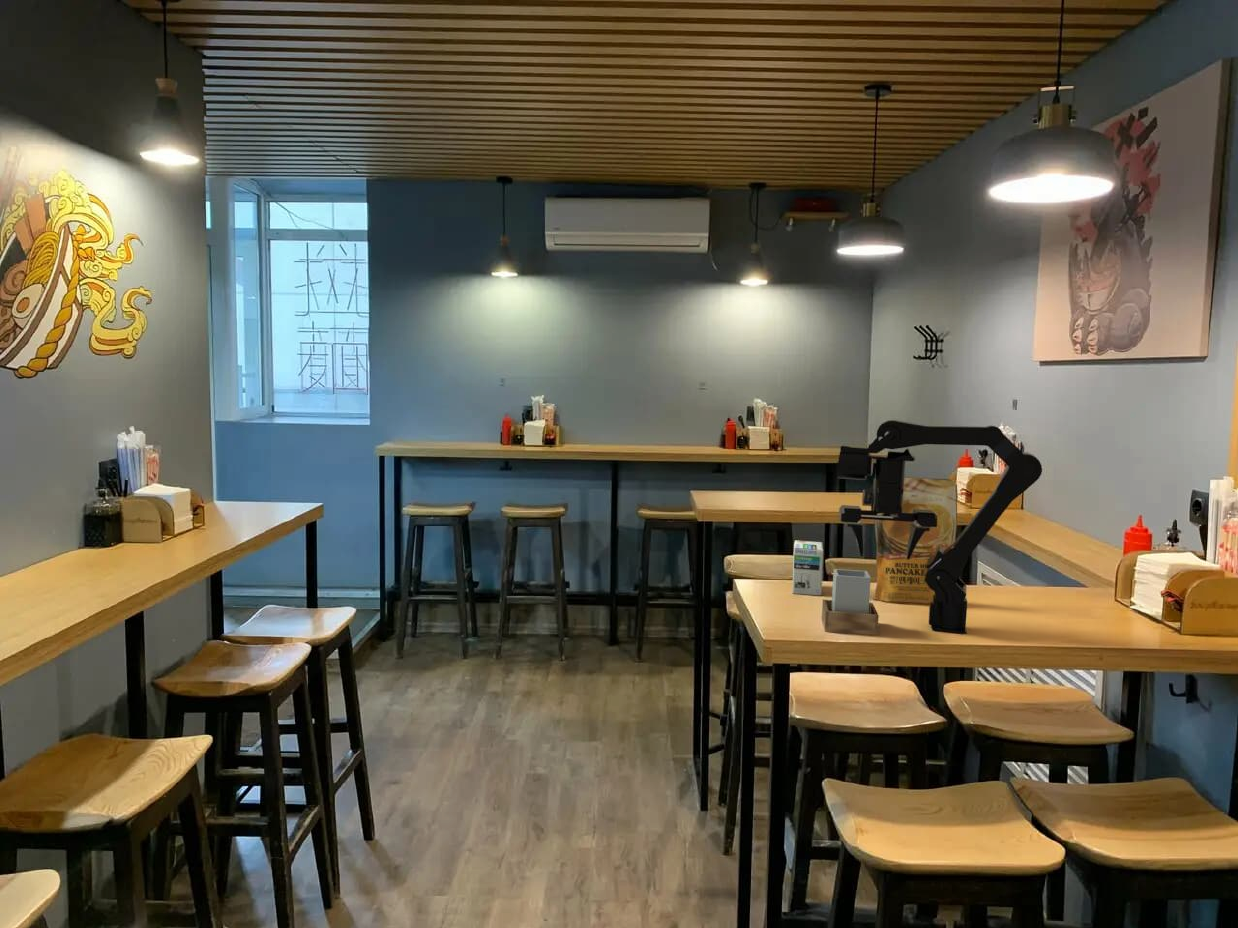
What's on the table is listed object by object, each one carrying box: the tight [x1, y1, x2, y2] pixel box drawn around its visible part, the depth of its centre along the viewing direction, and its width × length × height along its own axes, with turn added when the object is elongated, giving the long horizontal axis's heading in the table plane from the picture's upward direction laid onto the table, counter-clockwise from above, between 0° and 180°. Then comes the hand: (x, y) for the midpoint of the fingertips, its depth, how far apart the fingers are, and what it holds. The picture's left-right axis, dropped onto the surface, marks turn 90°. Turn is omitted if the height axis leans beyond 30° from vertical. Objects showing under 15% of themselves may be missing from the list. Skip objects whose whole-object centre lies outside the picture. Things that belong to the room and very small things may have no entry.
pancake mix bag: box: [872, 475, 959, 606], centre depth 200 cm, size 7×19×28 cm, turn 84°
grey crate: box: [831, 568, 871, 614], centre depth 178 cm, size 6×6×10 cm
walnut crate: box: [821, 599, 879, 637], centre depth 178 cm, size 10×10×4 cm
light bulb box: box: [791, 539, 824, 596], centre depth 209 cm, size 11×7×11 cm, turn 169°
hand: (884, 557), depth 183 cm, fingers open, 9 cm apart
